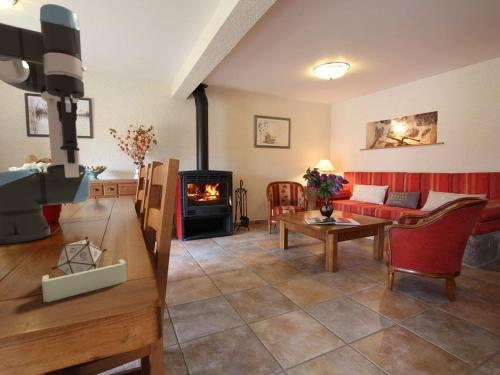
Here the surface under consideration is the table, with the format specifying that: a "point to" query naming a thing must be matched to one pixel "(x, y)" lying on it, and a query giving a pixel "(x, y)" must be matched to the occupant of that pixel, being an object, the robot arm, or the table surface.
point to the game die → (79, 257)
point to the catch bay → (83, 281)
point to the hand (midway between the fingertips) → (72, 177)
